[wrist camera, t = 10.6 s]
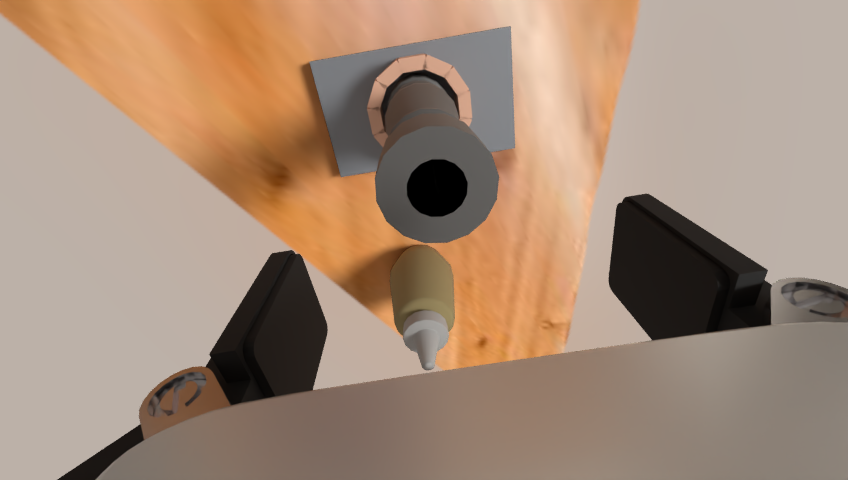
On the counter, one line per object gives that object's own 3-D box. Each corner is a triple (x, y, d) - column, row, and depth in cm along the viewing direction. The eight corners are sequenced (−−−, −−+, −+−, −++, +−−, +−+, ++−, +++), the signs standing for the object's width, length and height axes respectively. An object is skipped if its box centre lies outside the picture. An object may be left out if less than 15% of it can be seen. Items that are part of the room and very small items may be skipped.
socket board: (506, 26, 37) (520, 24, 33) (511, 144, 43) (523, 156, 38) (312, 61, 38) (300, 63, 33) (342, 172, 43) (336, 187, 39)
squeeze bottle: (386, 239, 48) (379, 336, 32) (448, 233, 48) (471, 328, 32) (393, 289, 52) (389, 398, 36) (451, 284, 52) (472, 391, 36)
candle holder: (440, 140, 41) (483, 256, 19) (384, 129, 40) (361, 238, 18) (453, 80, 38) (522, 134, 16) (393, 67, 37) (378, 105, 15)
